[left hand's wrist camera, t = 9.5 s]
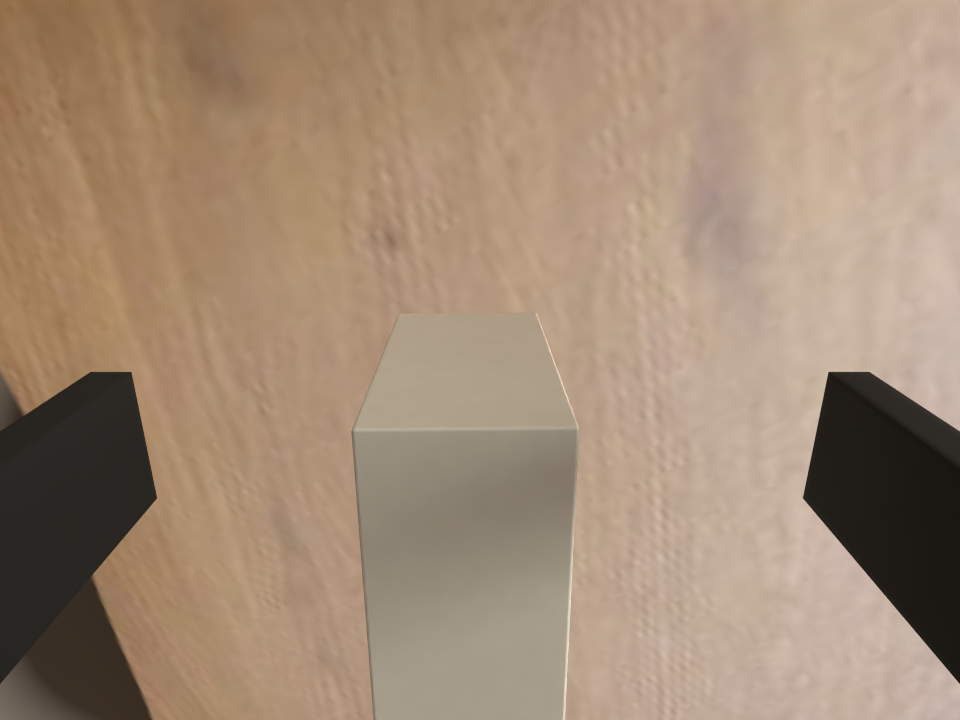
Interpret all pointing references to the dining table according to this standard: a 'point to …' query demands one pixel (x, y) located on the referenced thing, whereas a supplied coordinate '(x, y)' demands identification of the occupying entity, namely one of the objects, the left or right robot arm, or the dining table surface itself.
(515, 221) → the dining table surface
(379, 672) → the bar
